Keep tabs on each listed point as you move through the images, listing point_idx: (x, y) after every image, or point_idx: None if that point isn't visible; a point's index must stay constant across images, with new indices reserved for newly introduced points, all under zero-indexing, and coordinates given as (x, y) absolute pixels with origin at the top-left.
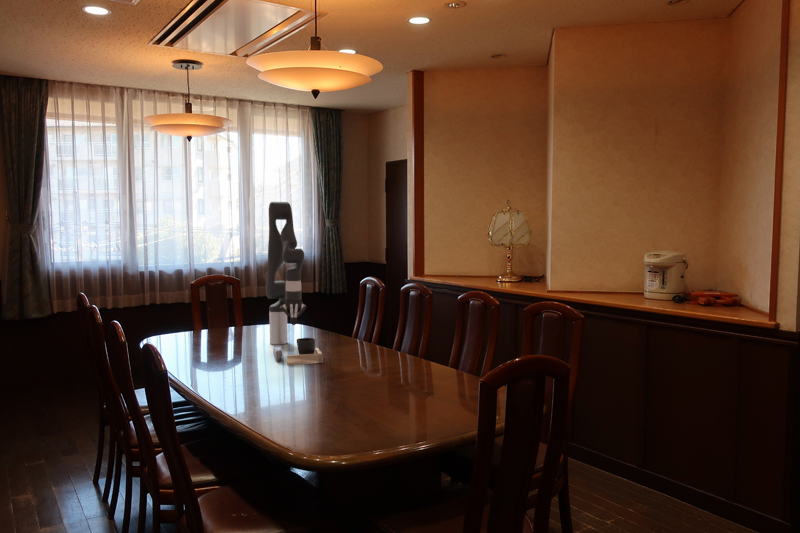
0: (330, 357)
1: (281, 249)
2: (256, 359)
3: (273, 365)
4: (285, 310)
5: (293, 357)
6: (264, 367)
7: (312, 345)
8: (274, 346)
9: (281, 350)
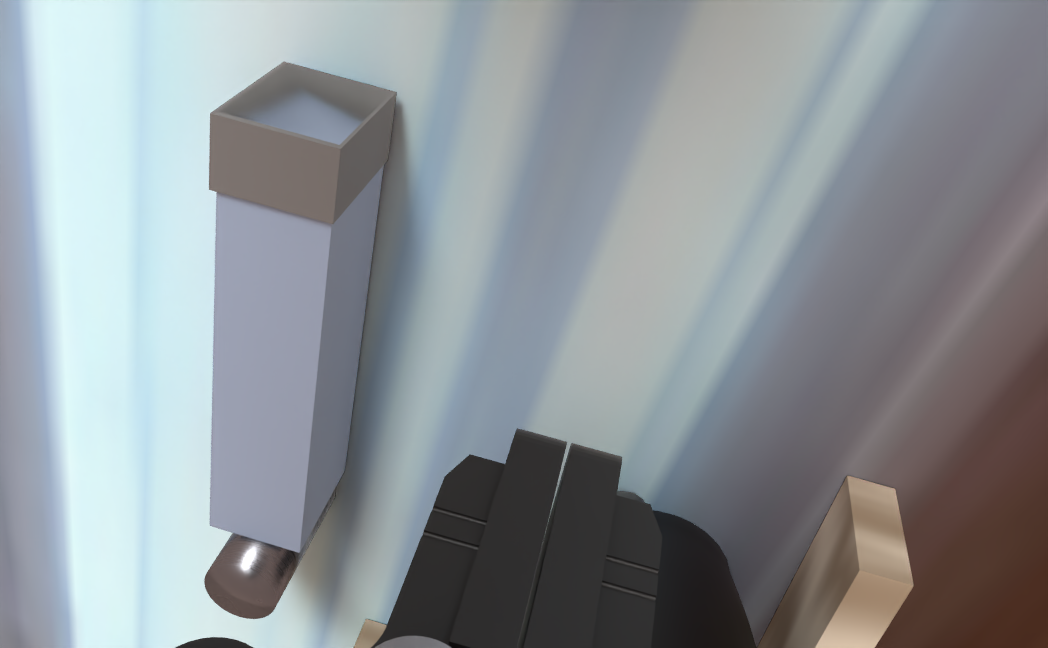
0: (986, 643)
1: None
2: (30, 223)
3: None
4: None
5: None
6: (130, 598)
7: None
8: (224, 192)
9: (272, 609)
